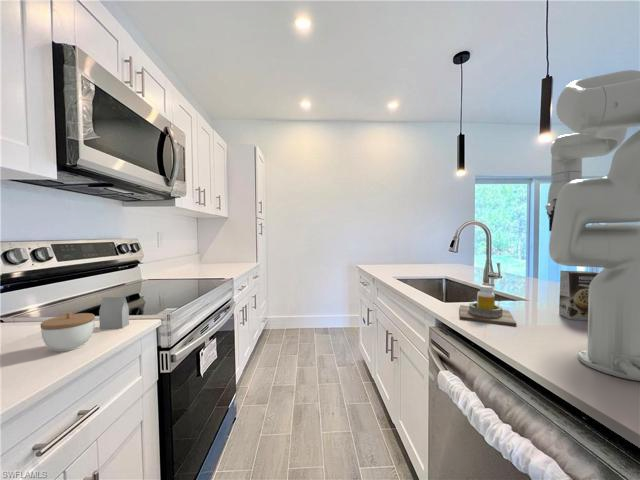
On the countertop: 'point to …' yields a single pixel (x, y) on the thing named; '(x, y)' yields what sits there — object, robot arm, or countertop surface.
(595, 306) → the robot arm
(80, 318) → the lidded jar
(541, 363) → the countertop surface
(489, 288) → the supplement bottle
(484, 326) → the countertop surface
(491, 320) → the mount board
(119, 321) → the grey gabled block
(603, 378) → the countertop surface
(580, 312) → the cookie box
